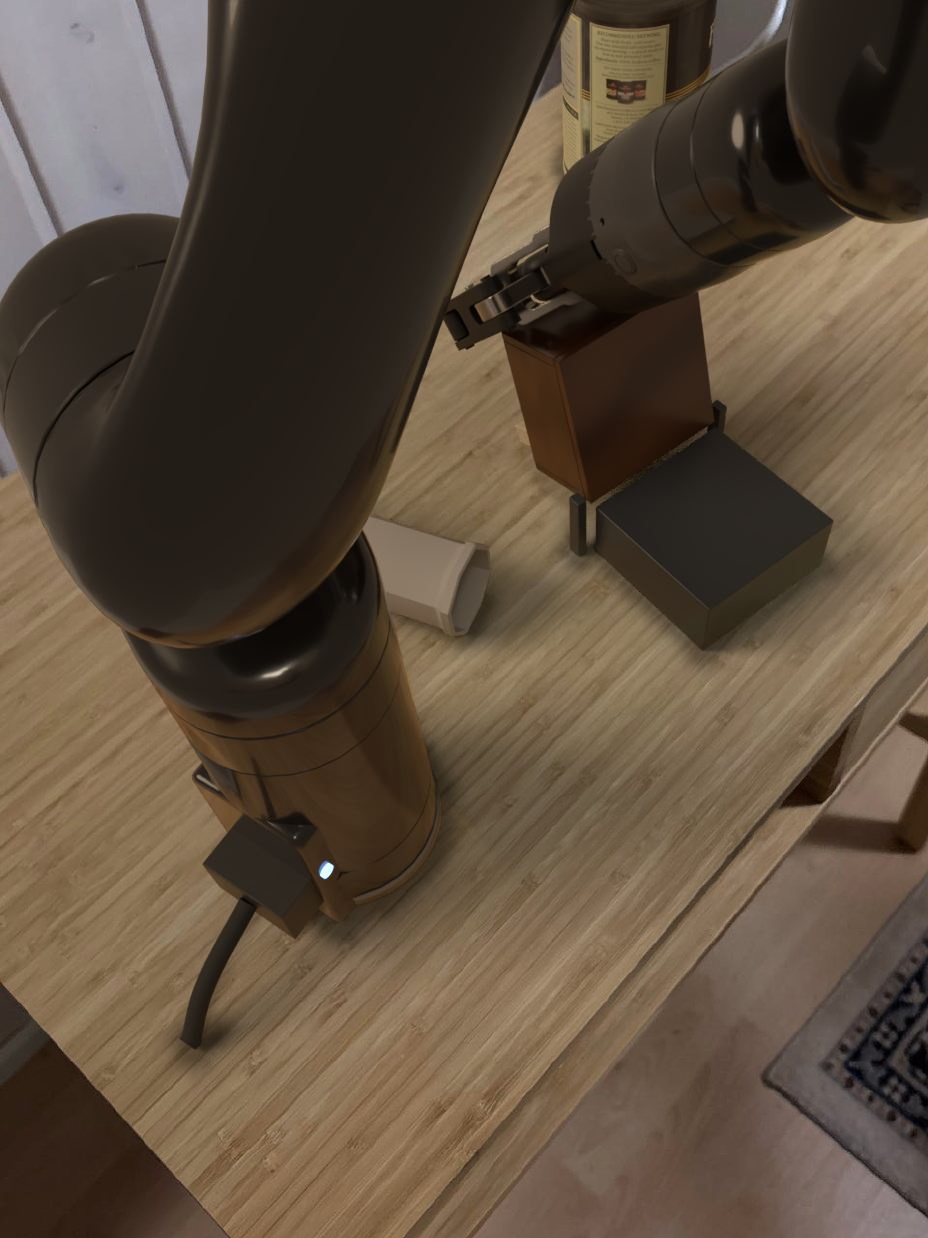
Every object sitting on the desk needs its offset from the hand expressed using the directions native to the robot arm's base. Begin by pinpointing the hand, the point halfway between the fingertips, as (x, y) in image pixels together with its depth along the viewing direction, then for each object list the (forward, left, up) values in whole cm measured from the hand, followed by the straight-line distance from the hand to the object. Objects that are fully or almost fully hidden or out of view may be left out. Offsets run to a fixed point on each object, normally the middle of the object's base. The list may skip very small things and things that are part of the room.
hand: (518, 284), depth 64 cm
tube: (-17, +6, -9) cm, 21 cm away
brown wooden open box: (-3, -10, 0) cm, 10 cm away
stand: (-5, -15, -9) cm, 18 cm away
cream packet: (-4, -5, -6) cm, 8 cm away
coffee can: (+24, +6, -9) cm, 26 cm away
